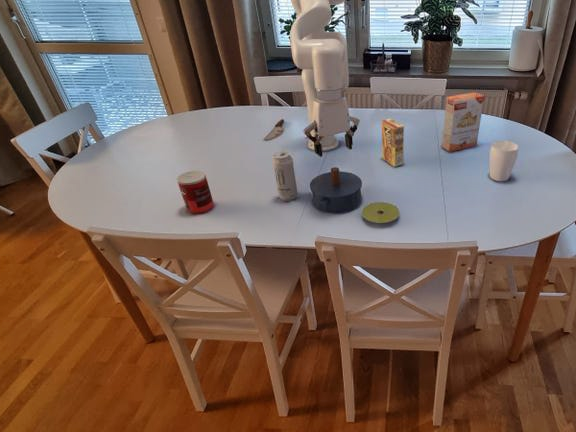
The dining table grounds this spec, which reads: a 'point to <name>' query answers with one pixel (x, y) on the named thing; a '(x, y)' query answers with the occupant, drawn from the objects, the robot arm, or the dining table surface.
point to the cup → (502, 159)
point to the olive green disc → (380, 212)
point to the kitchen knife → (275, 131)
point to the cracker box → (462, 121)
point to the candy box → (392, 142)
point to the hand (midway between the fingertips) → (334, 151)
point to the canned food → (195, 192)
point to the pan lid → (335, 184)
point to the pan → (337, 203)
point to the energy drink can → (285, 176)
